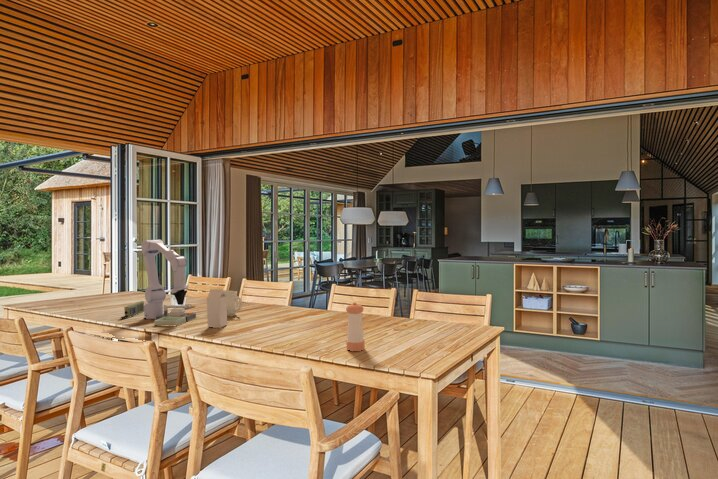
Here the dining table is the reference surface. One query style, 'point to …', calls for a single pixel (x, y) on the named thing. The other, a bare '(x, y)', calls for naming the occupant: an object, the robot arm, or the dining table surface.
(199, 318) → the dining table surface
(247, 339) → the dining table surface
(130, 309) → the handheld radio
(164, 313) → the clip
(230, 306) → the pitcher
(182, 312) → the plug
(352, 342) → the pepper shaker
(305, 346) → the dining table surface
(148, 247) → the robot arm
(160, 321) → the tray
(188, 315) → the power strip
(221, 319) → the milk carton
